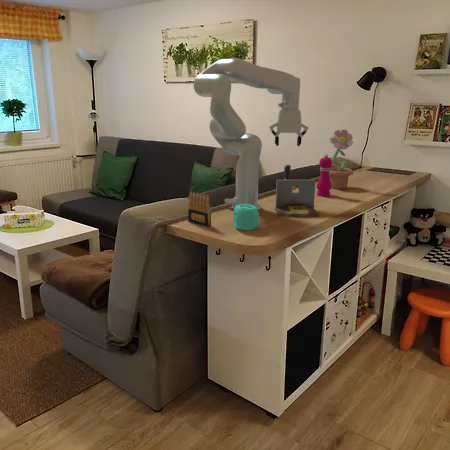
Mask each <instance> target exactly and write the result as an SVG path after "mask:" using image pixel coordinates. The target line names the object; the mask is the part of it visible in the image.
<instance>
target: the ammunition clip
mask: <svg viewBox="0 0 450 450" xmlns="http://www.w3.org/2000/svg"><path fill="white" fill-rule="evenodd" d="M188 200H189V201H188V211H187V213H188V214H187V218H188V219H187V222H189V223H192V224H196V225H199V226H203V227H206V228H208V227H209V228H210V227H211V226H212V213H211V206H210V205H211V204H210V196H209V195H208V194H205V193H203V194H202V193H199V192H198V191H197V193H196V191H190V192H189V199H188Z"/></svg>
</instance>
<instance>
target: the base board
mask: <svg viewBox="0 0 450 450" xmlns="http://www.w3.org/2000/svg"><path fill="white" fill-rule="evenodd" d="M307 209H308V214H291V213H290V212H289V211H288V208H276V207H275V208H274V211H275V212H276V213H277V215H278V216H279V217H285V218H286V217H287V218H288V217H296V218H297V217H319V216H320V213H319V212H318V211H317V210H316V209H315V207H314V208H307Z"/></svg>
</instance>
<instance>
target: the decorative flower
mask: <svg viewBox="0 0 450 450" xmlns="http://www.w3.org/2000/svg"><path fill="white" fill-rule="evenodd" d="M333 134H334V135H333V137H330V139H329V140H330V141H329V142H330V143H331V144H333V147H334V148H336V150H335V152H334V154H333V155H332V157H329V158H330V159H331V160H332V164H334V165H337V166H340V167H330V168H331V169H330V172H329V178H330V181H331V184H332V188H331V189H335V190H342V189H343V190H344V189H346V188H347V187H348V183H349V177H350V176H353V175H354V171H353V169H351V168H347V167H345V164H344V163H346V162H347V160H343V161H342V162H341V161H337V156H338V155H339V153H340V155H341V156H343V157H346V154H345V152H344V150H347V149H348V148H349V147H352V145H353V144H354V141H353V135H352V133H349V131H348V130H347V129H337V130H335V131H334V133H333Z"/></svg>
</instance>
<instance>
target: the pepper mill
mask: <svg viewBox="0 0 450 450" xmlns="http://www.w3.org/2000/svg"><path fill="white" fill-rule="evenodd" d="M330 158H331V157H329V155H328V154H327V153H325V154H324V157H321V158H320V159H319V162H318V165H319V166H320V168H319V171H320V176H319V178H318V181H317V182H316V185H315V188H316V189H317V191H316V192H317V193H316V196H318V197H330V196H331V192H330V191H331V189H333V188H332V184H331V181H330V175H329V172H330V169H331V168H332V165H333V162H332V159H330Z"/></svg>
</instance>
